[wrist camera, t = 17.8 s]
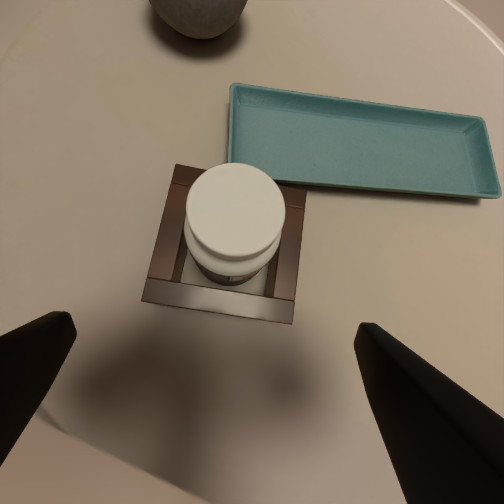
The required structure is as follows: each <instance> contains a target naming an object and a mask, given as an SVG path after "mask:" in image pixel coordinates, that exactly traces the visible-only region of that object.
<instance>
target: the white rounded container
mask: <svg viewBox="0 0 504 504" xmlns="http://www.w3.org/2000/svg"><path fill="white" fill-rule="evenodd" d="M284 220H285V203H284V199H283V196H282V193H281V191H280V189H279V187H278V186H277V184H276V183H275V182H274V181H273V180H272V178H271V177H269V176H268V175H267V174H266V173H264V172H263V171H261V170H259V169H258V168H255V167H253V166H250V165H247V164H242V163H226V164H221V165H217V166H215V167H212V168H210V169H209V170H207V171H205V172H204V173H203V174H202V175H200V176H199V177H198V178H197V180H196V181H195V182H194V183H193V185H192V187H191V188H190V191H189V193H188V196H187V201H186V217H185V222H184V235H185V239H186V243H187V246H188V249H189V251H190V253H191V255H192V256H193V258H194V260H195V262H196V264H197V265H198V267H199V268H200V270H201V271H202V273H203V274H204V275H205V276H206V277H207V278H208V279H210V280H211V281H213V282H215V283H218V284H221V285H226V286H233V285H239V284H242V283H244V282H246V281H248V280H250V279H251V278H252V277H253V276H255V275H256V274H257V273H258V272H259V270H260V269H261V268H262V267H263V266H264V265H265V264H266V263H267V262H269V261H270V260H271V259H272V257H273V255H274V254H275V252H276V250H277V248H278V245H279V242H280V239H281V232H282V227H283V224H284Z"/></svg>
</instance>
